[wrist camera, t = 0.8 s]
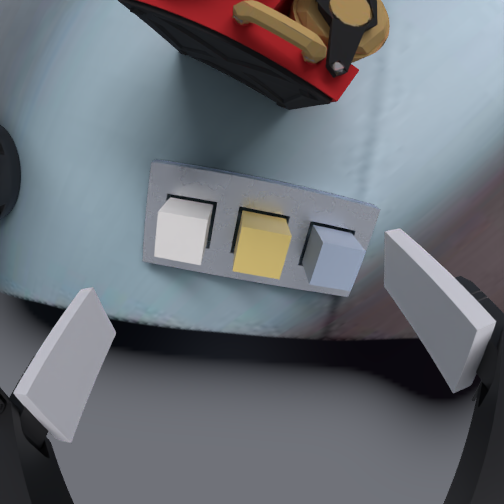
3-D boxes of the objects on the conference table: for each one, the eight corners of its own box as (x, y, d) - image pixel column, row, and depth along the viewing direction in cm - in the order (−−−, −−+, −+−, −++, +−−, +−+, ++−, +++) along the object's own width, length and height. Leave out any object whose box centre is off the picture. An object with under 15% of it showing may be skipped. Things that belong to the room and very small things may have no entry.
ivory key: (165, 237, 34) (154, 256, 30) (170, 197, 32) (158, 211, 28) (206, 244, 35) (200, 265, 30) (213, 204, 33) (207, 220, 28)
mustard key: (234, 250, 35) (232, 271, 31) (242, 210, 33) (241, 226, 29) (275, 257, 36) (279, 279, 31) (285, 218, 34) (291, 236, 29)
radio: (339, 46, 27) (437, -12, 9) (292, 115, 31) (353, 115, 12) (216, -19, 23) (189, -127, 5) (167, 49, 27) (78, -14, 9)
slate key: (301, 262, 36) (309, 284, 31) (313, 224, 34) (323, 242, 29) (338, 269, 36) (350, 291, 32) (351, 233, 34) (366, 251, 30)
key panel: (147, 254, 37) (142, 261, 35) (156, 159, 32) (151, 161, 30) (343, 288, 40) (348, 296, 38) (374, 204, 35) (380, 209, 33)
